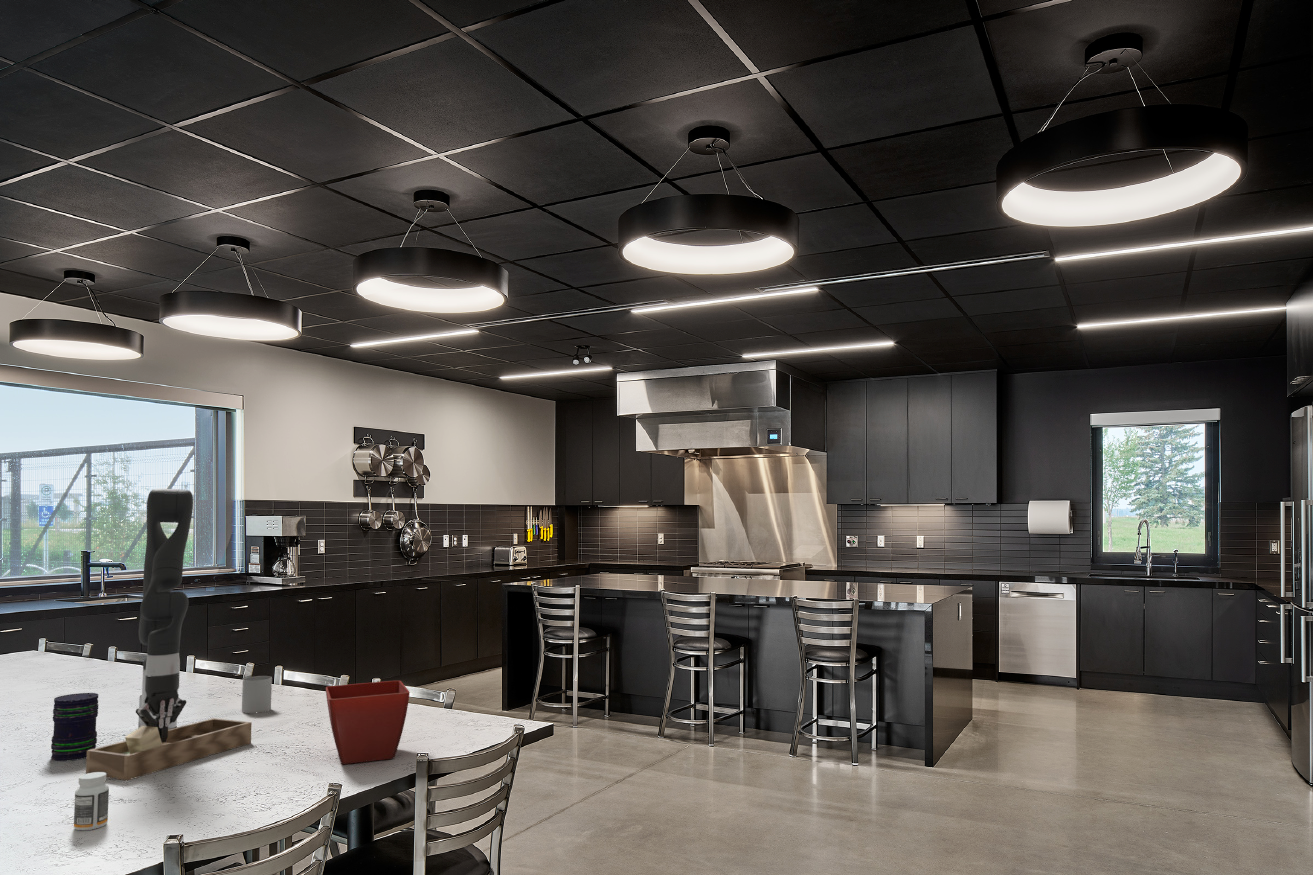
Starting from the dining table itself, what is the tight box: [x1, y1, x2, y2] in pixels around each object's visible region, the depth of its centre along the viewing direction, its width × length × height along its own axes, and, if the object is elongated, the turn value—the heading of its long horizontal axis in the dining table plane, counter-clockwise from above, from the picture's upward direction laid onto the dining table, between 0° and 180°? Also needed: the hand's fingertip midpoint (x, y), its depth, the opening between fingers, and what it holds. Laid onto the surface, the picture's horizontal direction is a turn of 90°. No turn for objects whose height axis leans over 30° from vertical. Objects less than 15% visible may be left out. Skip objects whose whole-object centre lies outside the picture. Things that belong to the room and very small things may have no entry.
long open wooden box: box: [85, 717, 252, 781], centre depth 225 cm, size 36×14×6 cm, turn 158°
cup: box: [241, 675, 273, 714], centre depth 279 cm, size 8×8×10 cm
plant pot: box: [325, 680, 410, 765], centre depth 226 cm, size 19×19×17 cm
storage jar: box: [50, 692, 99, 762], centre depth 228 cm, size 10×10×15 cm
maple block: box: [124, 726, 162, 754], centre depth 217 cm, size 5×5×5 cm
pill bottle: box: [73, 772, 110, 831], centre depth 175 cm, size 6×6×10 cm
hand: (160, 742), depth 221 cm, fingers closed
